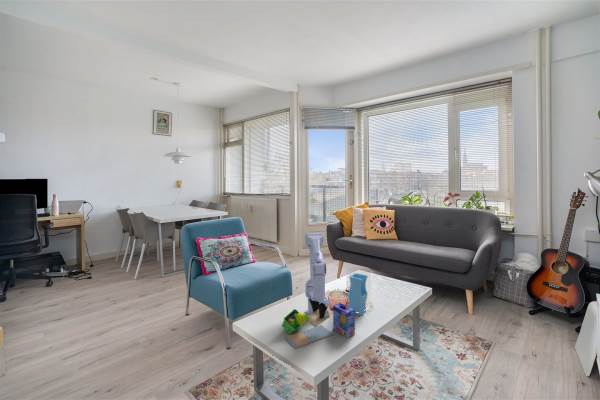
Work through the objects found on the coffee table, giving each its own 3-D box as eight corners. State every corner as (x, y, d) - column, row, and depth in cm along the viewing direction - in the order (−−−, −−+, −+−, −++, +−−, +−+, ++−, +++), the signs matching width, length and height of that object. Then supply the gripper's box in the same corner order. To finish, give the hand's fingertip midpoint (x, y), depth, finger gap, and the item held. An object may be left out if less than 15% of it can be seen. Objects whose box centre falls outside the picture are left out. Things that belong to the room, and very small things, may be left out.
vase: (360, 315, 157) (361, 279, 155) (347, 311, 162) (348, 276, 160) (367, 310, 163) (367, 275, 161) (354, 306, 168) (354, 272, 166)
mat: (321, 325, 147) (321, 324, 147) (333, 334, 139) (333, 333, 139) (284, 338, 135) (284, 337, 135) (295, 348, 127) (295, 347, 127)
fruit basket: (290, 314, 150) (301, 300, 146) (302, 327, 147) (314, 312, 143) (278, 325, 140) (289, 309, 136) (291, 339, 137) (303, 323, 133)
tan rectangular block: (324, 313, 144) (321, 306, 143) (329, 316, 140) (327, 309, 139) (309, 323, 139) (307, 316, 138) (315, 327, 136) (312, 320, 135)
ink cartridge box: (332, 329, 143) (332, 300, 142) (340, 325, 147) (340, 297, 146) (347, 338, 136) (347, 308, 134) (355, 334, 139) (355, 304, 138)
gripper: (303, 284, 142) (303, 311, 143) (321, 295, 130) (321, 324, 131) (315, 281, 146) (315, 308, 147) (333, 291, 133) (333, 320, 135)
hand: (318, 315), depth 139 cm, fingers closed on tan rectangular block, 4 cm apart
